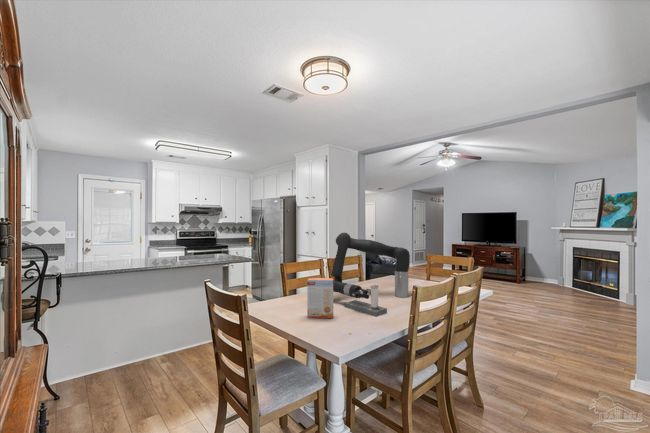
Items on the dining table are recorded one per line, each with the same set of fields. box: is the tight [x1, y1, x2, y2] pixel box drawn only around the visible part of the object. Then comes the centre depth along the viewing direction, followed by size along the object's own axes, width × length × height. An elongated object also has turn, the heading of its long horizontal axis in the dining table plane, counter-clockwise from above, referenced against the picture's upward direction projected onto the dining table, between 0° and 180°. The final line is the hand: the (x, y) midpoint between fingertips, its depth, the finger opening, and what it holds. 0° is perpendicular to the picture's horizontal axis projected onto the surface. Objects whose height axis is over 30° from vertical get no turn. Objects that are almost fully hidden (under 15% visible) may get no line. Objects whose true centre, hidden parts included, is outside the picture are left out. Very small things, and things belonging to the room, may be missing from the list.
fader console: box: [344, 299, 388, 317], centre depth 186 cm, size 24×10×3 cm, turn 42°
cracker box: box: [306, 277, 334, 319], centre depth 173 cm, size 14×6×21 cm, turn 84°
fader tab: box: [370, 284, 380, 309], centre depth 180 cm, size 4×4×13 cm
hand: (373, 295), depth 181 cm, fingers open, 8 cm apart
